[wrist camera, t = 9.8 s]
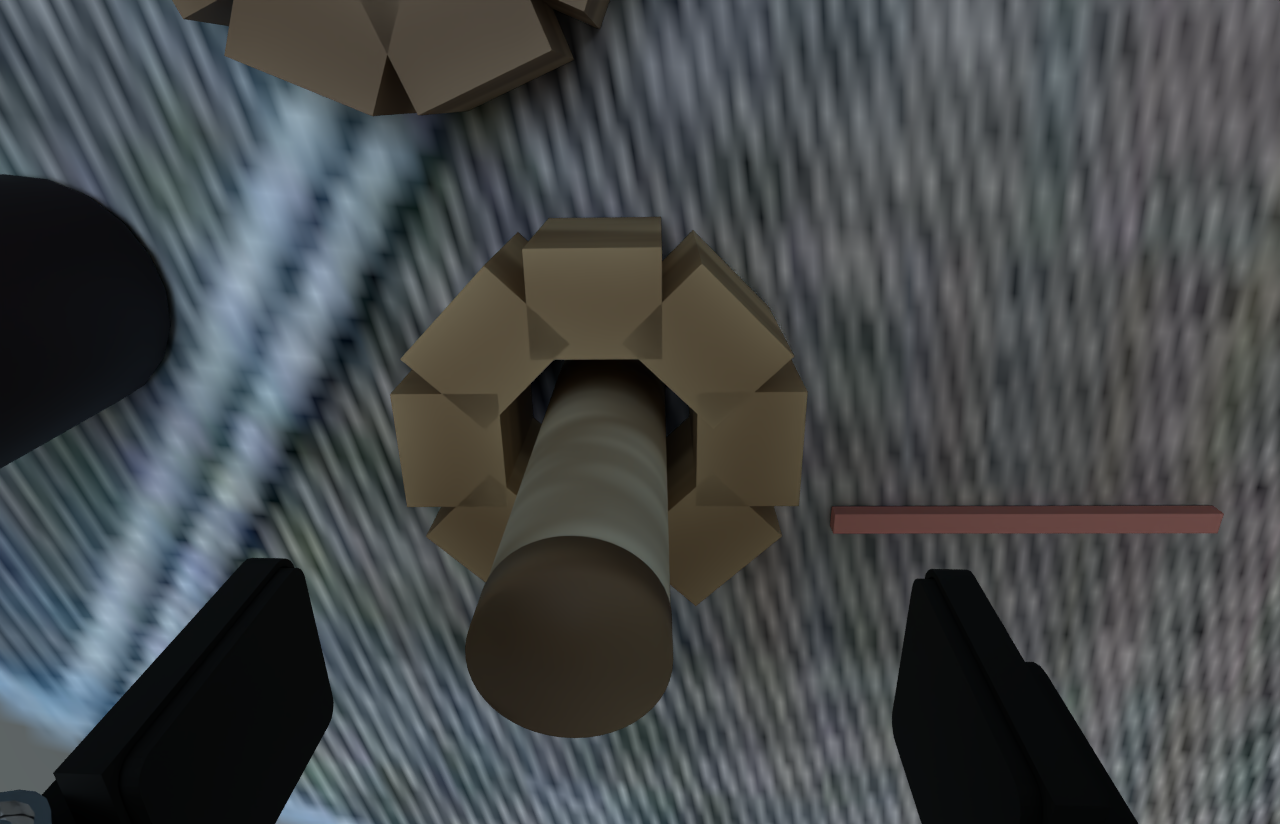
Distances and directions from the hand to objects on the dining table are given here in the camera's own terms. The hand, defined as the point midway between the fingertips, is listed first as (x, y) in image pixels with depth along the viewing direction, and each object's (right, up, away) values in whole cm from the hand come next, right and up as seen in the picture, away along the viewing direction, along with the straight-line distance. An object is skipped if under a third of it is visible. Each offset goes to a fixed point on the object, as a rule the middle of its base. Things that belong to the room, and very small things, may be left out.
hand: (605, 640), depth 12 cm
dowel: (0, +4, +11) cm, 12 cm away
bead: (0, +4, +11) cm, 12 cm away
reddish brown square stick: (+13, 0, +13) cm, 18 cm away
